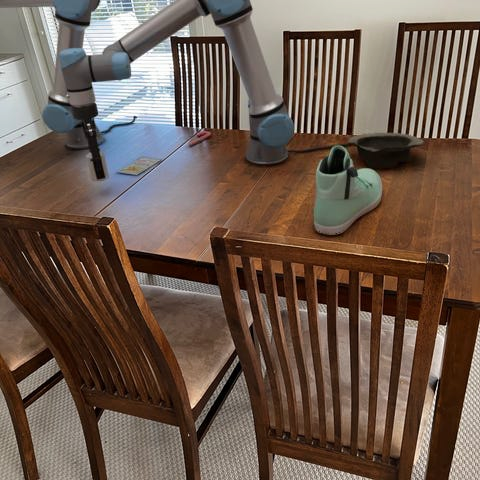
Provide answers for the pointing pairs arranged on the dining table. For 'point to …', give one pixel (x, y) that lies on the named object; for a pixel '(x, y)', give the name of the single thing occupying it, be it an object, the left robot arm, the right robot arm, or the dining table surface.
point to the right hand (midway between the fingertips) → (99, 174)
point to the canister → (92, 170)
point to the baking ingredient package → (138, 166)
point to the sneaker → (343, 192)
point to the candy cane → (206, 135)
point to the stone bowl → (384, 148)
